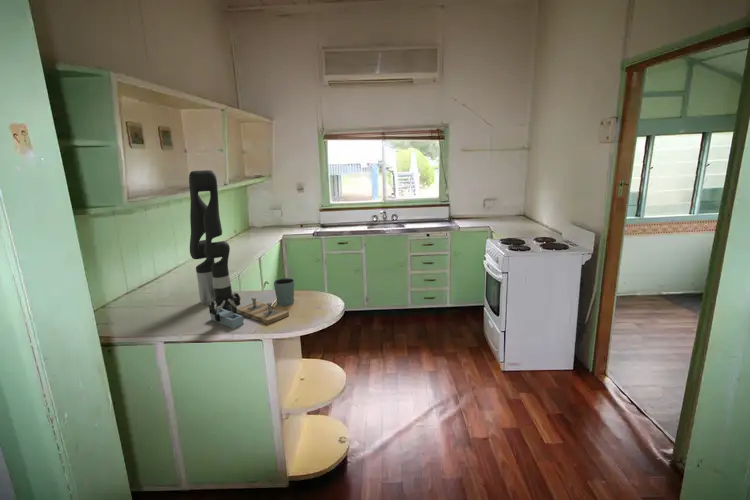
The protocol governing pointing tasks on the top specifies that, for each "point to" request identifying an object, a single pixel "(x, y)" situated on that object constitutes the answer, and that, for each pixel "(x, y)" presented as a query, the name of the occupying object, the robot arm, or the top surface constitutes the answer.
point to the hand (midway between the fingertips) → (226, 318)
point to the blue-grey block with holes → (229, 318)
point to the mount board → (263, 312)
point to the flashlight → (230, 305)
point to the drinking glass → (284, 291)
